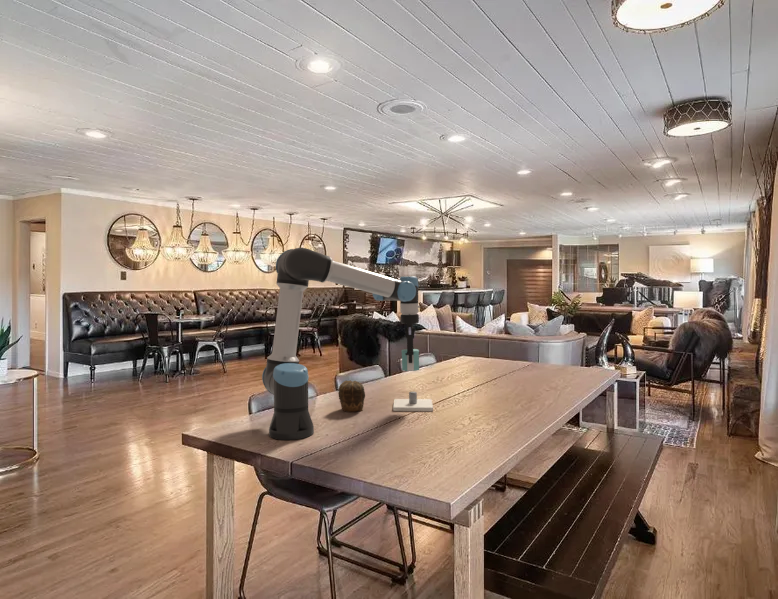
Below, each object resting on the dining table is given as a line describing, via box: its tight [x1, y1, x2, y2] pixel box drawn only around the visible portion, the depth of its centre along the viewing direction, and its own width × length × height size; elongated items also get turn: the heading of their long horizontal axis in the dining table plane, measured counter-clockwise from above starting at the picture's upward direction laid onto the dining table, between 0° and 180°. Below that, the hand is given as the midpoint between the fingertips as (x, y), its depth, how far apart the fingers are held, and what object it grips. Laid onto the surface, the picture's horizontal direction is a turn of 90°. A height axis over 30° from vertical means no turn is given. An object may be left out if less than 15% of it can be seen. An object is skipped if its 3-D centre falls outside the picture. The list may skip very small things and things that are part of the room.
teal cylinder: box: [401, 348, 420, 372], centre depth 209 cm, size 7×7×8 cm
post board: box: [392, 391, 434, 412], centre depth 211 cm, size 15×16×6 cm
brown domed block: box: [338, 380, 366, 413], centre depth 206 cm, size 11×11×12 cm
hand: (410, 369), depth 209 cm, fingers closed on teal cylinder, 7 cm apart
